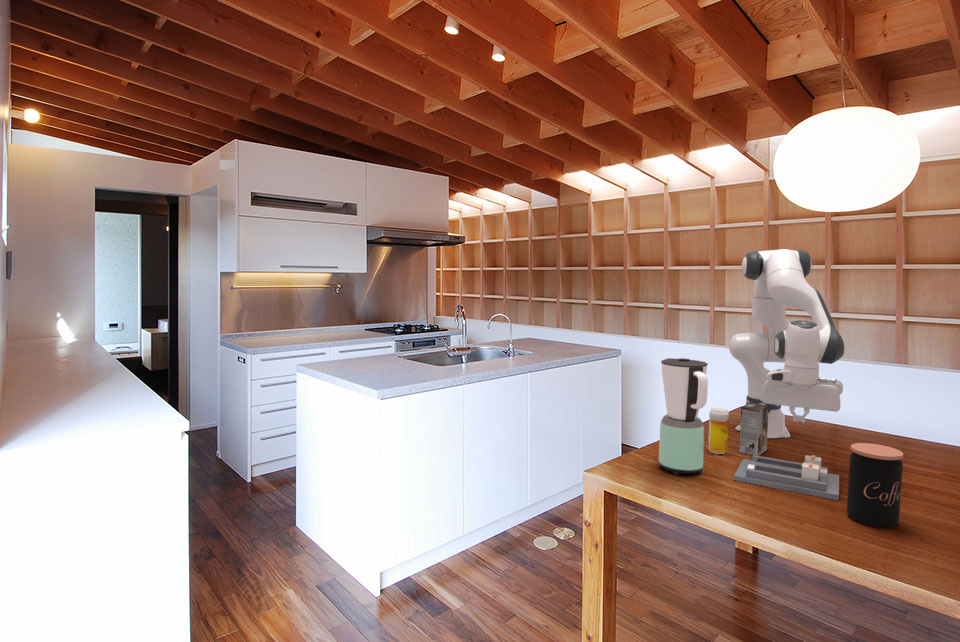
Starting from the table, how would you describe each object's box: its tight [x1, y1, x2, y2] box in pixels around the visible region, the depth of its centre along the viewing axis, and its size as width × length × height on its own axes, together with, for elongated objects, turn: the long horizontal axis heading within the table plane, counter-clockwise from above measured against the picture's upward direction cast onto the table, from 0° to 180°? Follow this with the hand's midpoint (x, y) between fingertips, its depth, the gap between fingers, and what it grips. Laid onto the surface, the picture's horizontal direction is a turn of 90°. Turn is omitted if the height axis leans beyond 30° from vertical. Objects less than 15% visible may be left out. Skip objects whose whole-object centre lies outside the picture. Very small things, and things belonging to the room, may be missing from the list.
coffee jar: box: [846, 442, 904, 529], centre depth 135 cm, size 11×11×18 cm
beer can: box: [707, 407, 730, 455], centre depth 186 cm, size 6×6×15 cm
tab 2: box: [801, 462, 819, 481], centre depth 154 cm, size 4×4×6 cm
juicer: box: [658, 357, 709, 476], centre depth 168 cm, size 19×13×35 cm
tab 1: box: [804, 454, 822, 473], centre depth 161 cm, size 4×4×6 cm
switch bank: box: [733, 455, 840, 501], centre depth 161 cm, size 18×26×4 cm
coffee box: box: [739, 403, 768, 456], centre depth 187 cm, size 9×6×16 cm
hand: (798, 421), depth 161 cm, fingers closed
